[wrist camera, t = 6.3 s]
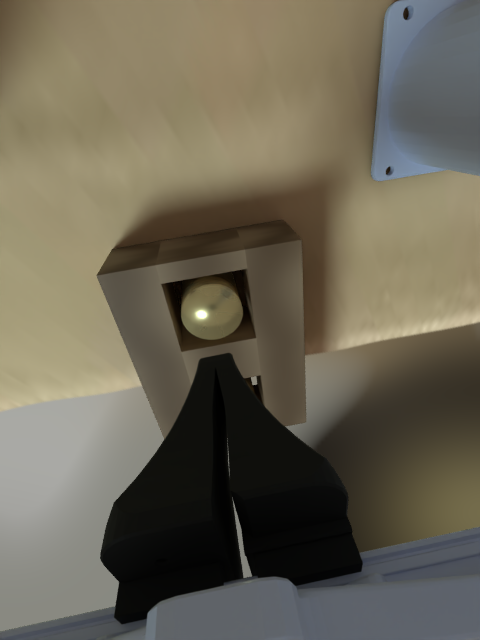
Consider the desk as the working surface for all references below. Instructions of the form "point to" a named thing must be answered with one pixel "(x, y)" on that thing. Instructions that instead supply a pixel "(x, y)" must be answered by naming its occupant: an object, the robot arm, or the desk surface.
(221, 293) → the plunger
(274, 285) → the walnut block
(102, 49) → the desk surface
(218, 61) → the desk surface
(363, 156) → the desk surface
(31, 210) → the desk surface
